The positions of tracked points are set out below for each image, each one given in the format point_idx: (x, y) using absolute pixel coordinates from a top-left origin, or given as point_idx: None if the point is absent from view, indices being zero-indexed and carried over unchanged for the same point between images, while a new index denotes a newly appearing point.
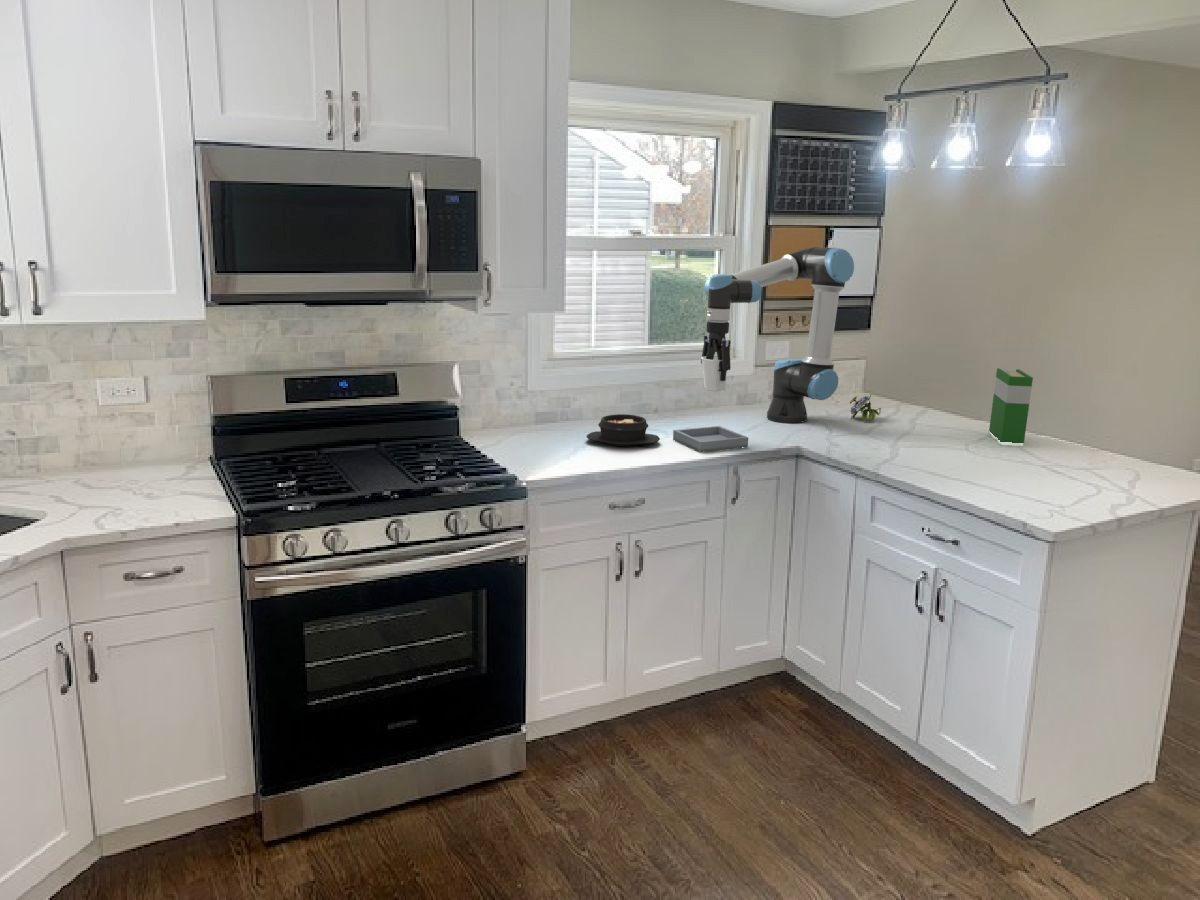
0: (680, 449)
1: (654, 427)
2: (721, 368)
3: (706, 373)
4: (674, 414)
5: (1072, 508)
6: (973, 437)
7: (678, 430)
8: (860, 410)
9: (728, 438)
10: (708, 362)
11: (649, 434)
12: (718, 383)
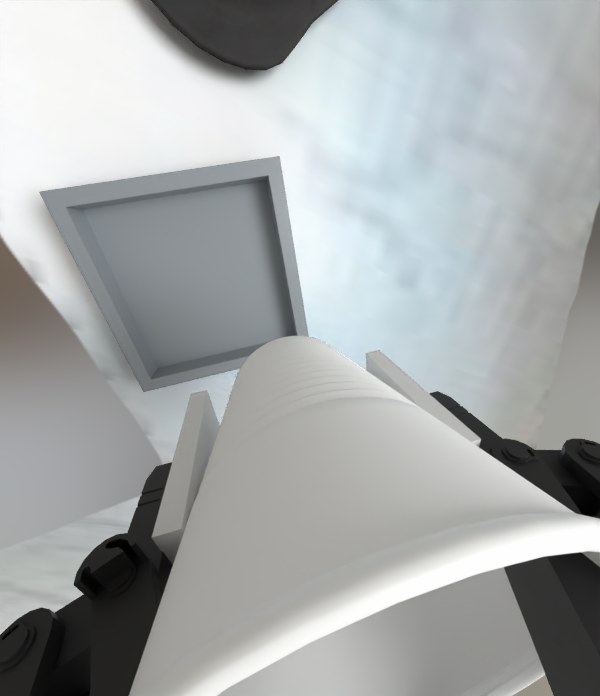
0: (119, 131)
1: (451, 170)
2: (95, 612)
3: (276, 396)
4: (543, 295)
5: None
6: None
7: (269, 177)
8: None
9: (124, 327)
10: (226, 574)
11: (283, 27)
12: (183, 429)
